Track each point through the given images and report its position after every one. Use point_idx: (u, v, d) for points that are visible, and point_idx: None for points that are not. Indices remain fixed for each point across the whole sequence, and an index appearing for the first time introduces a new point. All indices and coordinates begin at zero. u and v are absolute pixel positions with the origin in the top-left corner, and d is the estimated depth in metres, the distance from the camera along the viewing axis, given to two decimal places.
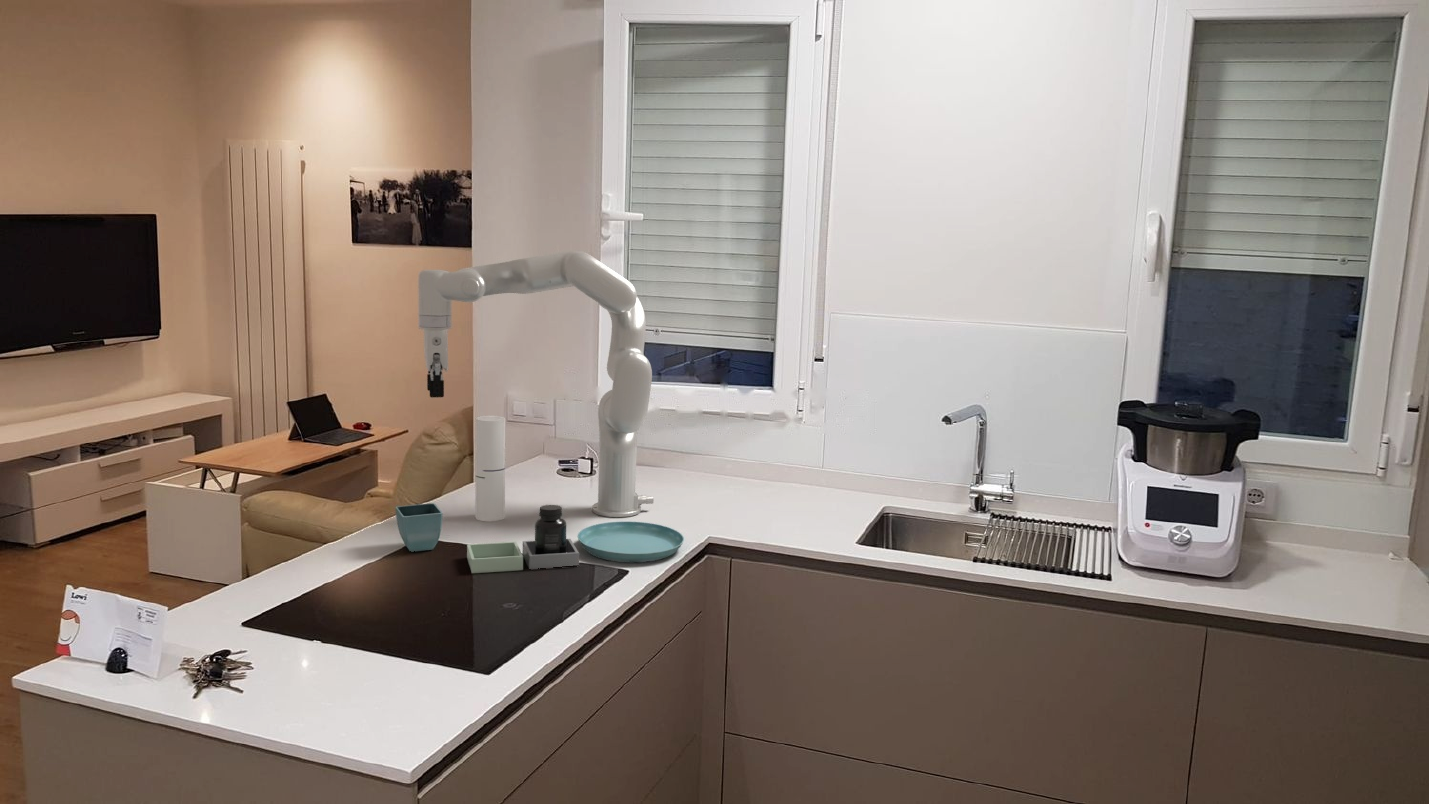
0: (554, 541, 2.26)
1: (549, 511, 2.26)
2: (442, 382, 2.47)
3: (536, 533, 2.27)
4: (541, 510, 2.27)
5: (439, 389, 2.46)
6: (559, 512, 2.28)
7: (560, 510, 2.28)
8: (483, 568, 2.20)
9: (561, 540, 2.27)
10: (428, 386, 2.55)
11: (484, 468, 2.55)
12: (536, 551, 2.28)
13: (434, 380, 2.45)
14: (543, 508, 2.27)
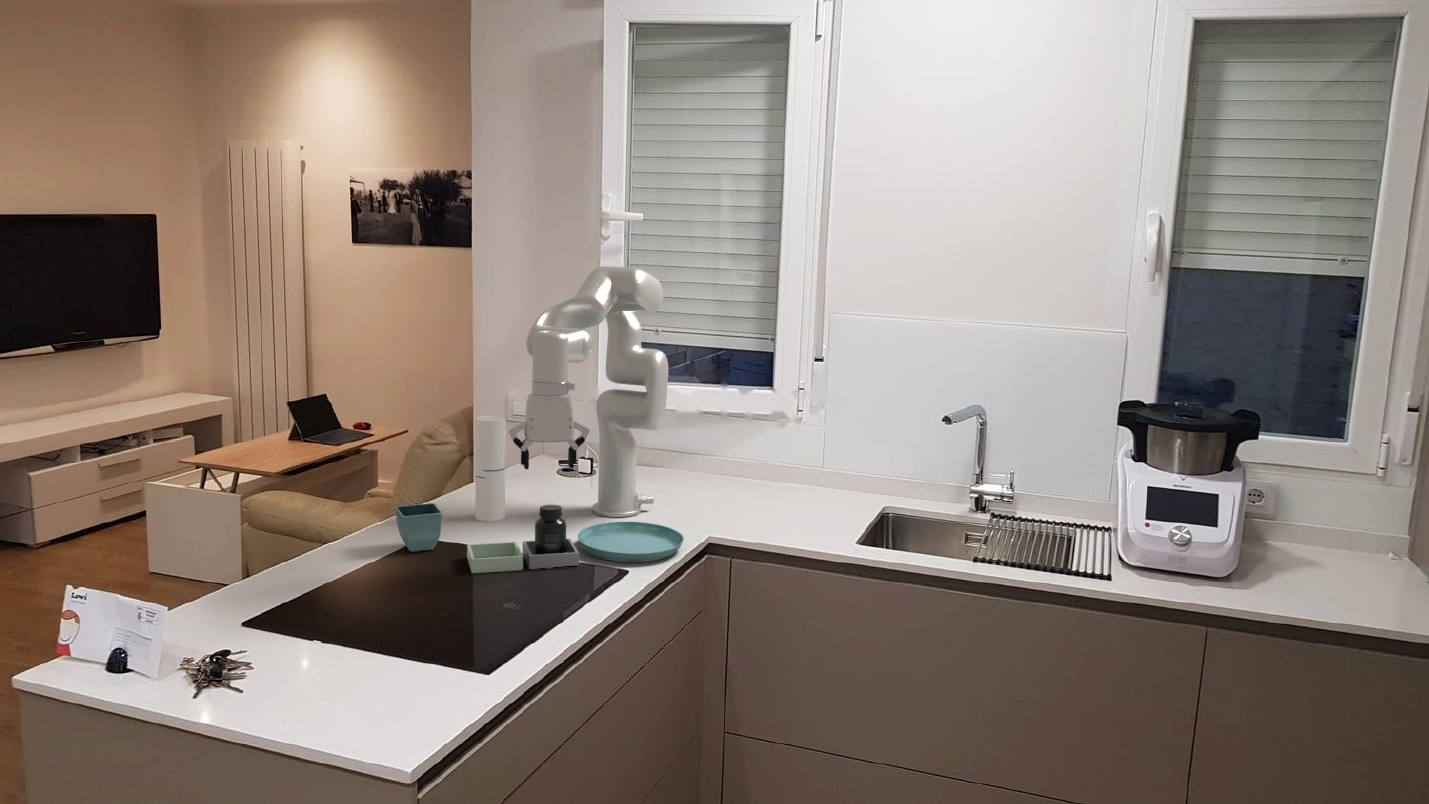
0: (554, 541, 2.26)
1: (549, 511, 2.26)
2: None
3: (536, 533, 2.27)
4: (541, 510, 2.27)
5: None
6: (559, 512, 2.28)
7: (560, 510, 2.28)
8: (483, 568, 2.20)
9: (561, 540, 2.27)
10: (528, 464, 2.24)
11: (484, 468, 2.55)
12: (536, 551, 2.28)
13: (577, 448, 2.28)
14: (543, 508, 2.27)
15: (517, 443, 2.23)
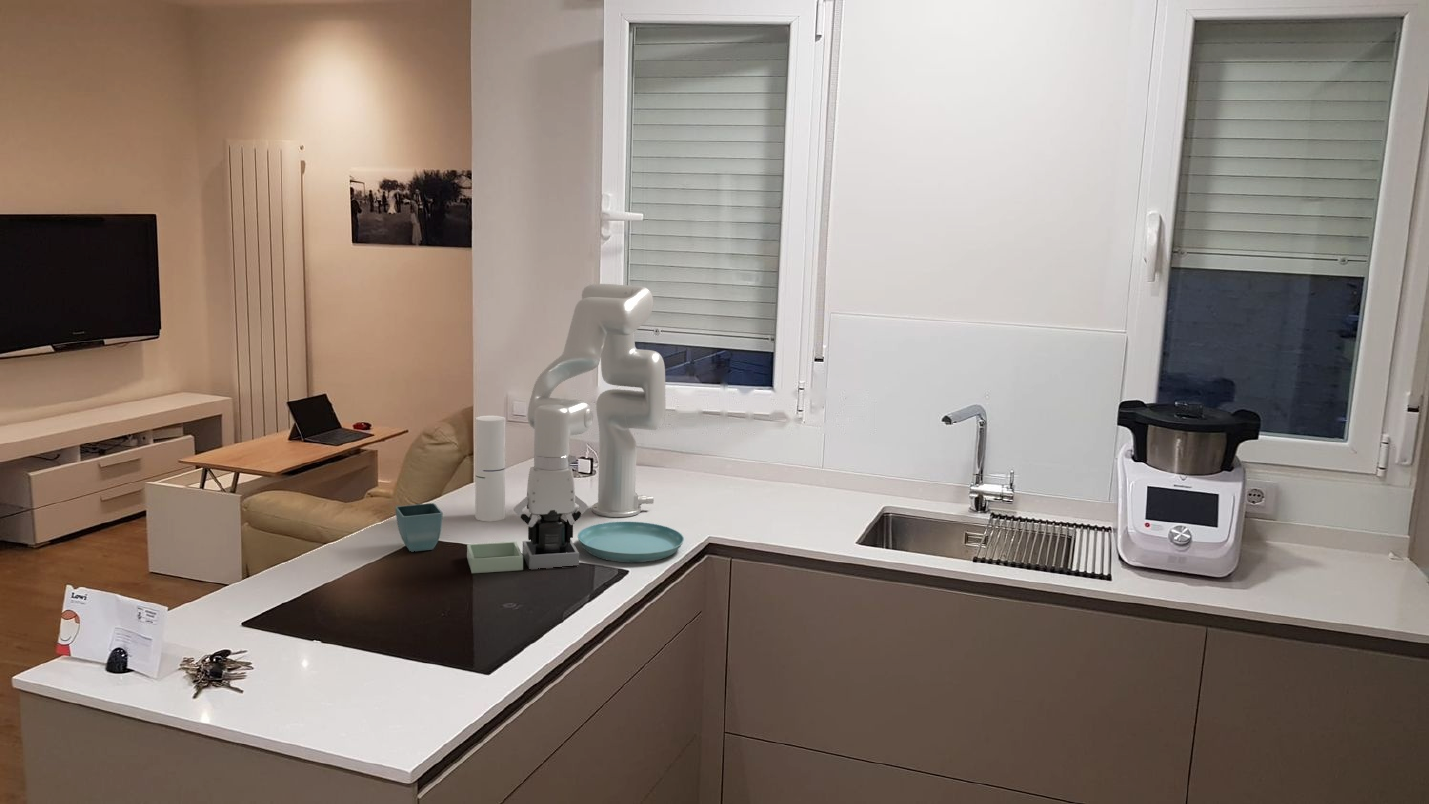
0: (554, 541, 2.26)
1: None
2: None
3: (536, 533, 2.27)
4: None
5: None
6: None
7: None
8: (483, 568, 2.20)
9: (561, 540, 2.27)
10: (535, 540, 2.27)
11: (484, 468, 2.55)
12: (536, 551, 2.28)
13: None
14: None
15: (524, 519, 2.26)
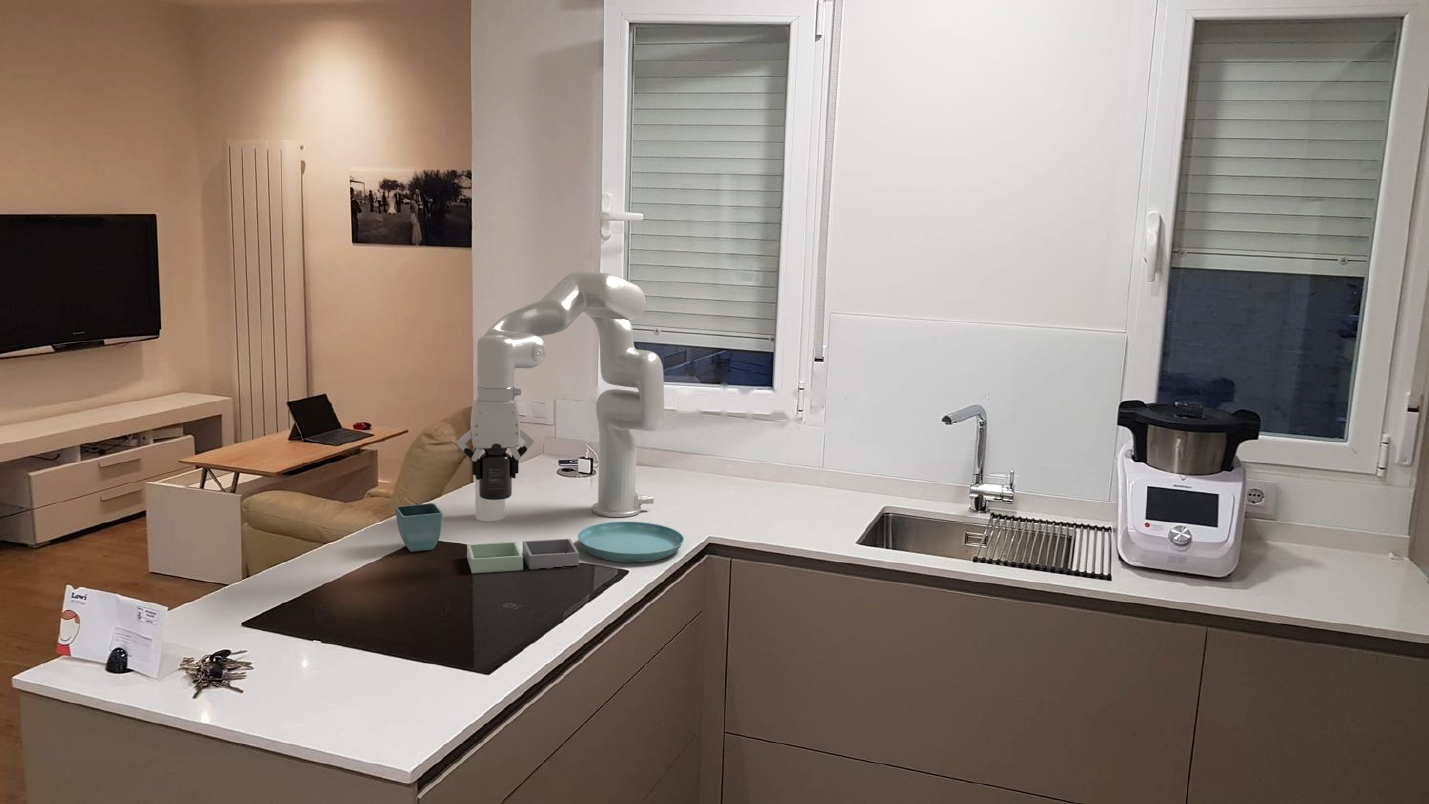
0: (498, 475, 2.20)
1: (493, 445, 2.20)
2: None
3: (480, 468, 2.21)
4: None
5: None
6: None
7: None
8: (483, 568, 2.20)
9: (506, 475, 2.21)
10: (479, 474, 2.21)
11: None
12: (480, 486, 2.22)
13: None
14: None
15: (468, 453, 2.20)
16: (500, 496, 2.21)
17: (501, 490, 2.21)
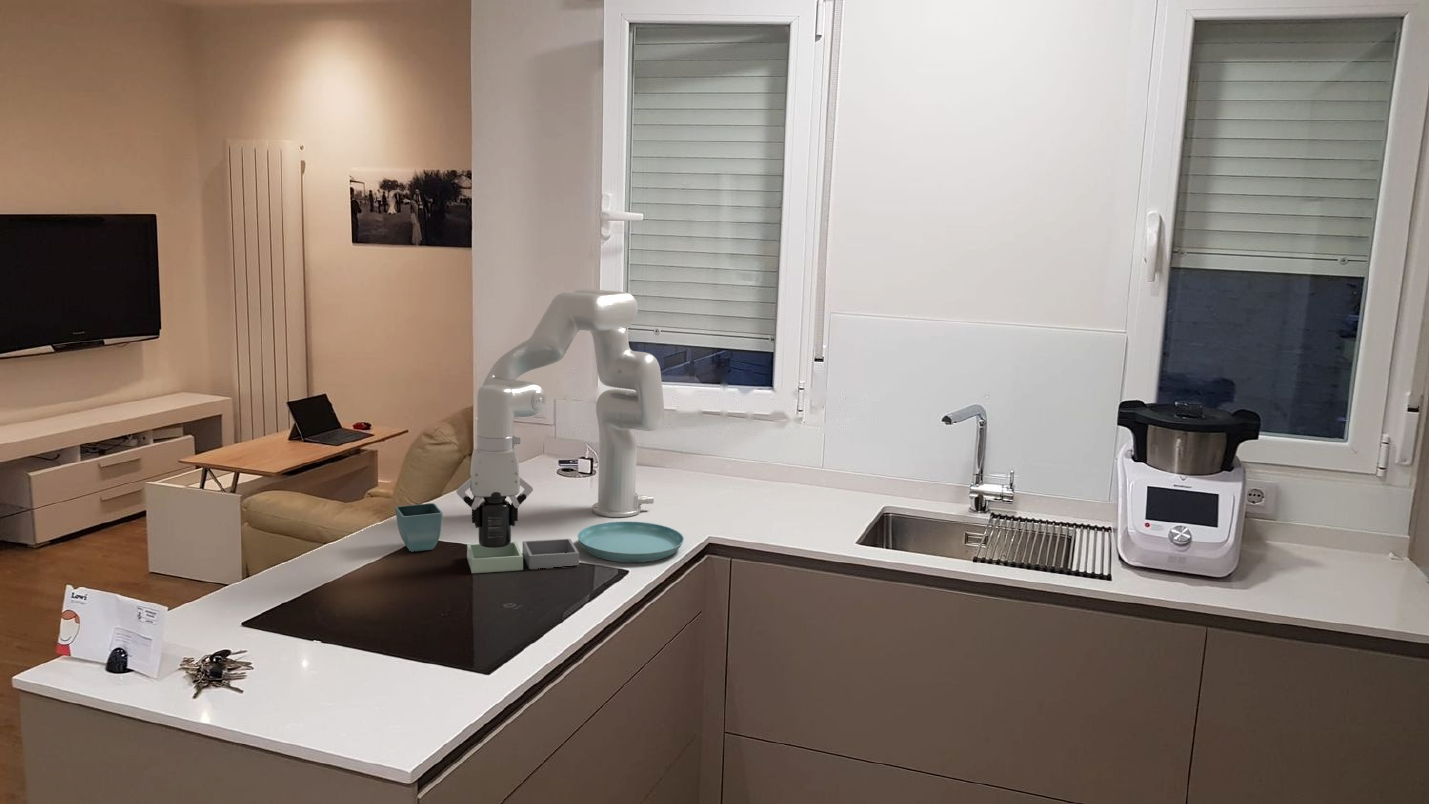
0: (497, 524, 2.22)
1: None
2: None
3: None
4: None
5: None
6: None
7: None
8: (483, 568, 2.20)
9: (505, 523, 2.23)
10: None
11: None
12: (480, 534, 2.23)
13: None
14: None
15: (467, 502, 2.22)
16: (499, 544, 2.23)
17: (500, 538, 2.22)
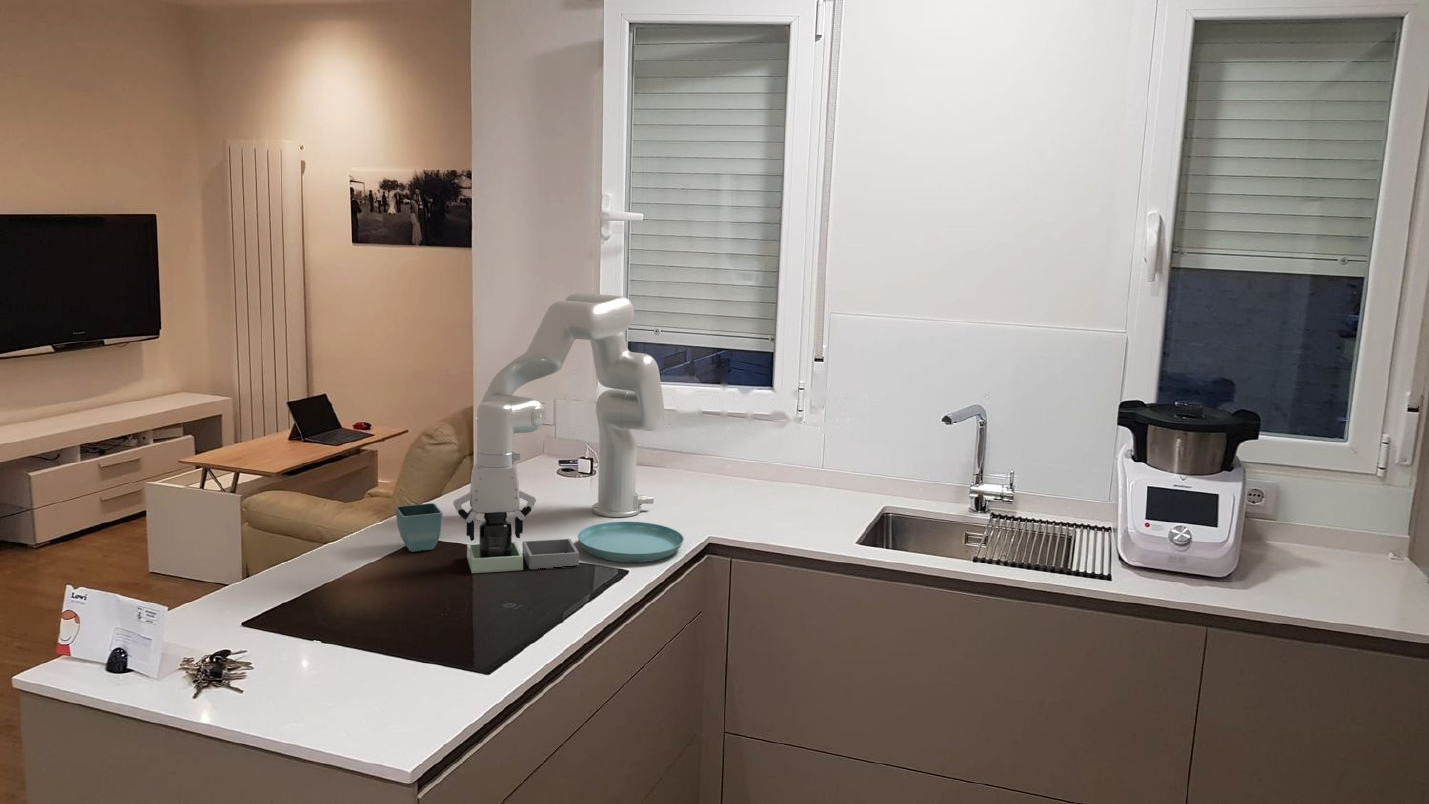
0: (498, 544, 2.23)
1: (493, 513, 2.23)
2: None
3: (480, 536, 2.24)
4: None
5: None
6: (504, 515, 2.24)
7: None
8: (483, 568, 2.20)
9: (506, 543, 2.24)
10: (473, 535, 2.23)
11: None
12: (480, 554, 2.24)
13: None
14: None
15: (462, 515, 2.22)
16: None
17: None
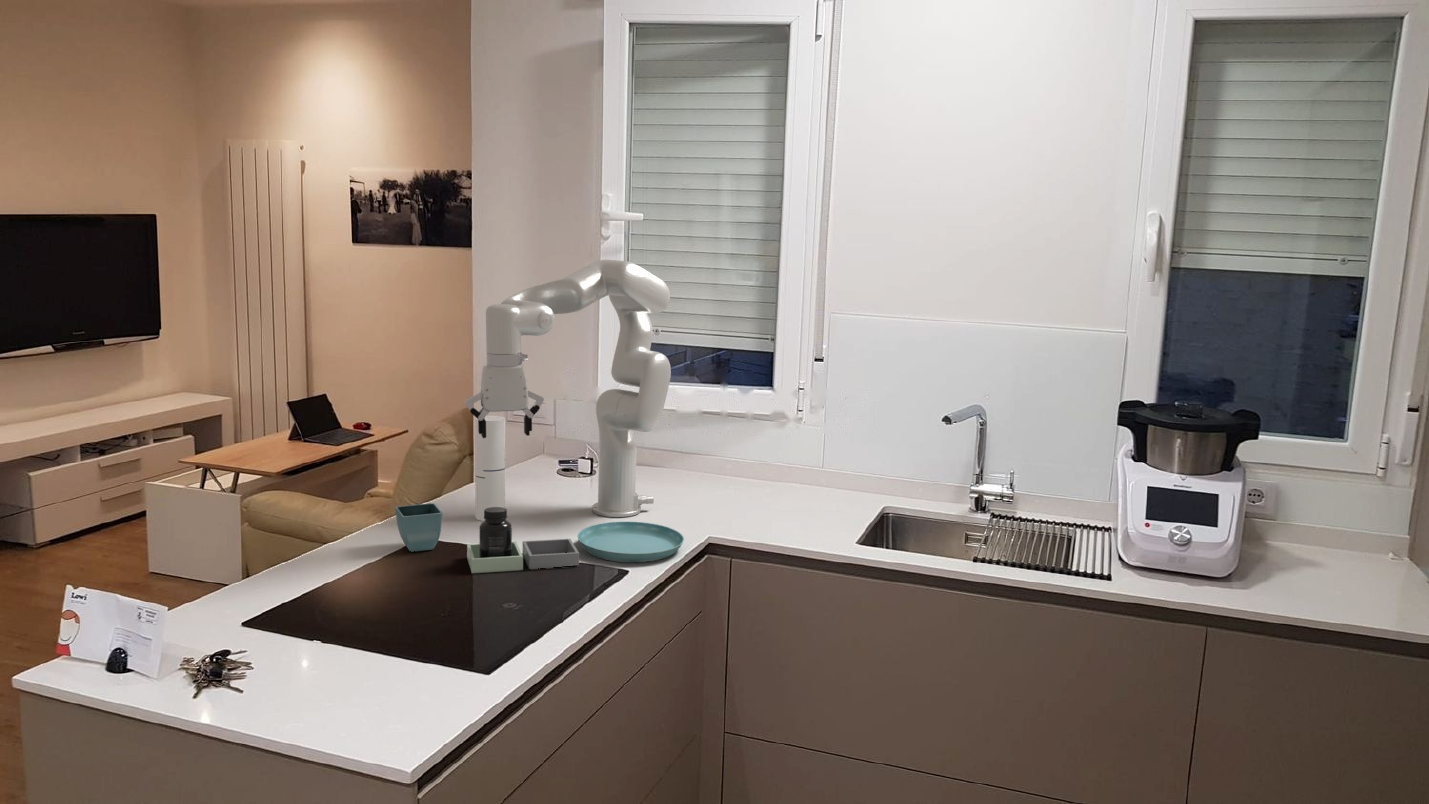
0: (498, 544, 2.23)
1: (493, 513, 2.22)
2: None
3: (480, 536, 2.24)
4: (485, 512, 2.23)
5: None
6: (504, 515, 2.24)
7: (505, 512, 2.24)
8: (483, 568, 2.20)
9: (506, 543, 2.24)
10: (485, 433, 2.34)
11: (484, 468, 2.55)
12: (480, 554, 2.24)
13: None
14: (487, 510, 2.24)
15: (474, 413, 2.33)
16: None
17: None
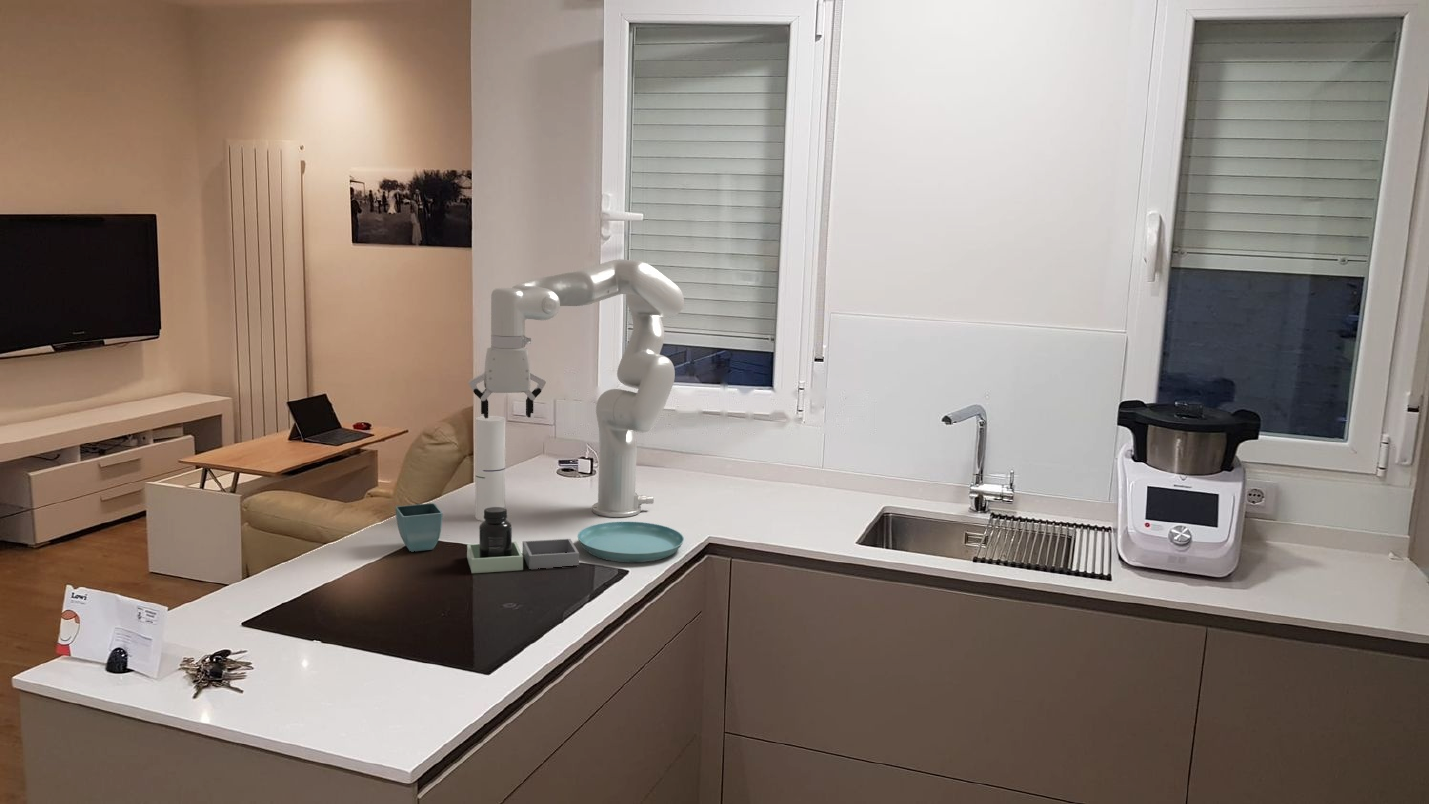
0: (498, 544, 2.23)
1: (493, 513, 2.23)
2: None
3: (480, 536, 2.24)
4: (485, 512, 2.23)
5: None
6: (504, 515, 2.24)
7: (505, 512, 2.24)
8: (483, 568, 2.20)
9: (506, 543, 2.24)
10: (487, 413, 2.39)
11: (484, 468, 2.55)
12: (480, 554, 2.24)
13: None
14: (487, 510, 2.24)
15: (477, 393, 2.38)
16: None
17: None
